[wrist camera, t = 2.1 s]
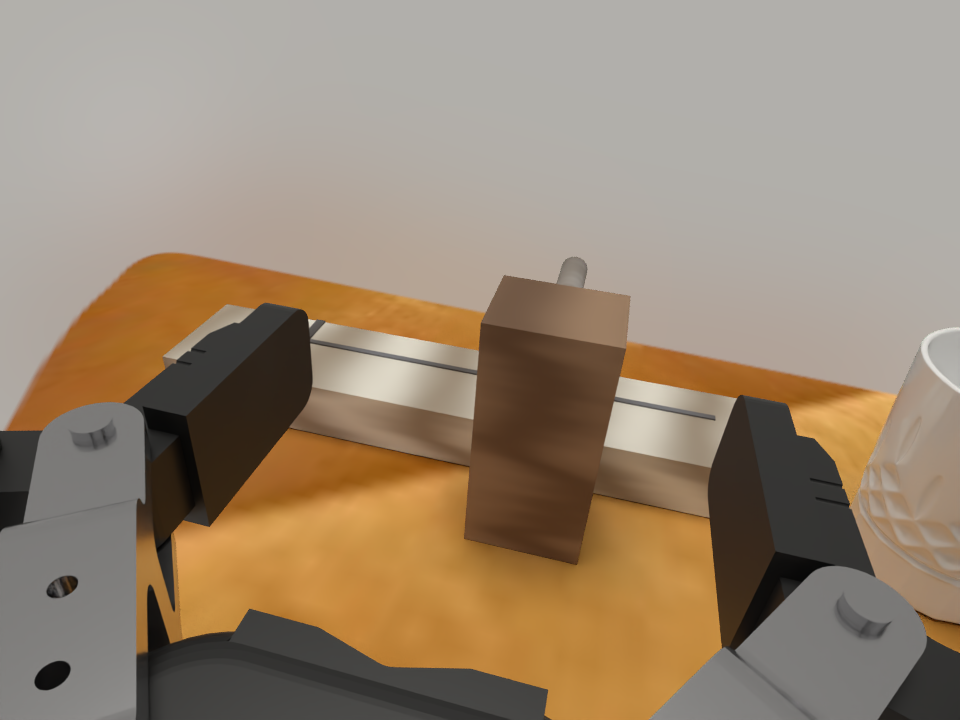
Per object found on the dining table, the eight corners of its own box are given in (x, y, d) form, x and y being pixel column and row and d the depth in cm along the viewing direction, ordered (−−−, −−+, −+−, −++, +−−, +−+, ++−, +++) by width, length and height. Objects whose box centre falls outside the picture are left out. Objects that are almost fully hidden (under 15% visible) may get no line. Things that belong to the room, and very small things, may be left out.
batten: (735, 445, 35) (751, 399, 33) (747, 526, 30) (768, 477, 28) (234, 346, 40) (226, 302, 38) (173, 402, 35) (162, 354, 33)
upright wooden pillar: (594, 435, 35) (634, 247, 29) (576, 564, 27) (626, 348, 21) (504, 417, 36) (525, 230, 30) (464, 538, 28) (481, 322, 22)
